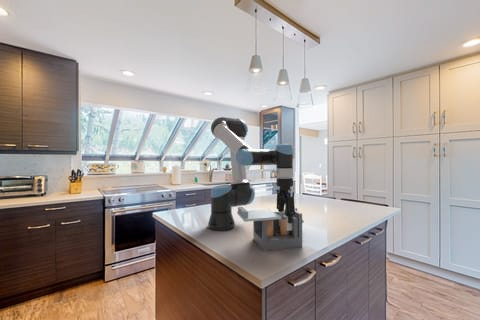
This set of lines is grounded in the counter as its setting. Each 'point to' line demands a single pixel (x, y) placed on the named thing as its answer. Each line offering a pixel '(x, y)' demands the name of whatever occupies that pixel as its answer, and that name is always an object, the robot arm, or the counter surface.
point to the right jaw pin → (283, 226)
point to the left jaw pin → (269, 228)
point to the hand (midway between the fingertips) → (285, 227)
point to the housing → (278, 234)
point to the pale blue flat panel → (257, 215)
